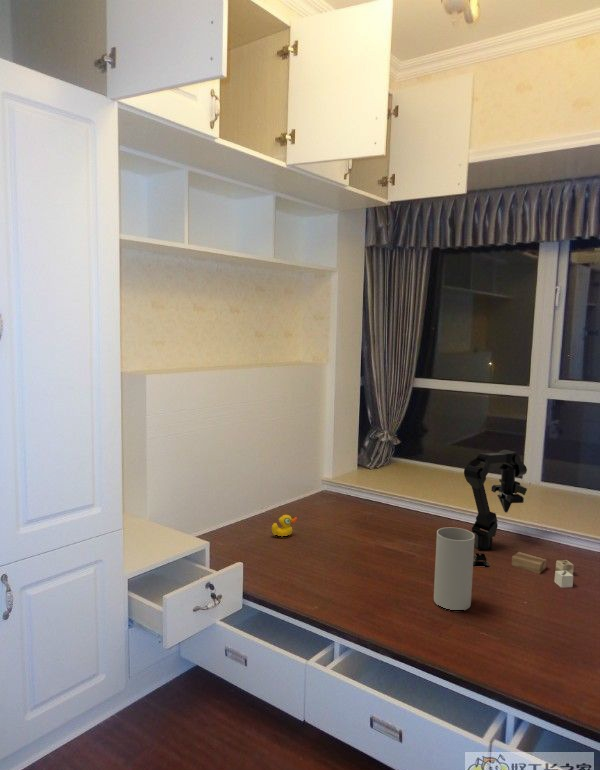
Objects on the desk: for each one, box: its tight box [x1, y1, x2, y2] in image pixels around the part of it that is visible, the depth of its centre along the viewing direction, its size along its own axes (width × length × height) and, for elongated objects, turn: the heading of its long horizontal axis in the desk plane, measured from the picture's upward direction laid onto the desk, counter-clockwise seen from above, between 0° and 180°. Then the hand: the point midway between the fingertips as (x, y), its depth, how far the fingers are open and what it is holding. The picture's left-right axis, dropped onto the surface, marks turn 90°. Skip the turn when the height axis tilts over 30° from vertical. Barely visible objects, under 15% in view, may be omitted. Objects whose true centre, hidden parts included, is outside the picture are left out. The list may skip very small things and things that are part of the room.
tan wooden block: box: [511, 551, 547, 575], centre depth 230 cm, size 7×11×4 cm, turn 48°
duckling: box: [271, 514, 298, 536], centre depth 256 cm, size 11×5×10 cm, turn 103°
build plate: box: [473, 552, 490, 568], centre depth 231 cm, size 12×7×5 cm, turn 86°
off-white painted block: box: [554, 570, 574, 589], centre depth 215 cm, size 4×4×5 cm
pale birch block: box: [555, 559, 575, 576], centre depth 224 cm, size 4×4×5 cm
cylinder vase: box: [433, 526, 475, 611], centre depth 197 cm, size 12×12×25 cm
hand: (505, 512), depth 256 cm, fingers closed
